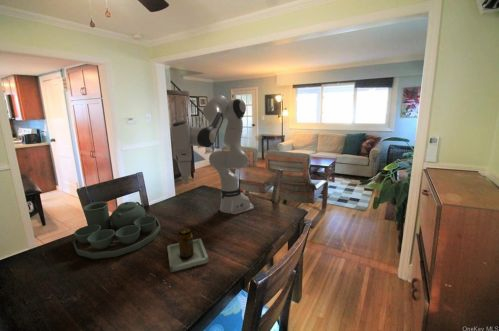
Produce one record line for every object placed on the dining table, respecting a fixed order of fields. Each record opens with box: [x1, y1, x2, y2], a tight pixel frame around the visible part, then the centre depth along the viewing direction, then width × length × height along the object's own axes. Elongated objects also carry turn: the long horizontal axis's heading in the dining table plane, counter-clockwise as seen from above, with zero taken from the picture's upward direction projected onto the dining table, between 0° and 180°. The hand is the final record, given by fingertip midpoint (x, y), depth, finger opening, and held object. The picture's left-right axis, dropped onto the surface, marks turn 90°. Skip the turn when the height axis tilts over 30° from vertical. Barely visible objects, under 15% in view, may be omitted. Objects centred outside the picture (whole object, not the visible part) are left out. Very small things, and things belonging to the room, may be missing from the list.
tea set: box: [72, 201, 161, 260], centre depth 123 cm, size 40×40×16 cm
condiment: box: [177, 227, 199, 262], centre depth 105 cm, size 7×8×12 cm
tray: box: [167, 237, 210, 273], centre depth 107 cm, size 16×18×2 cm
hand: (184, 181), depth 121 cm, fingers open, 8 cm apart
